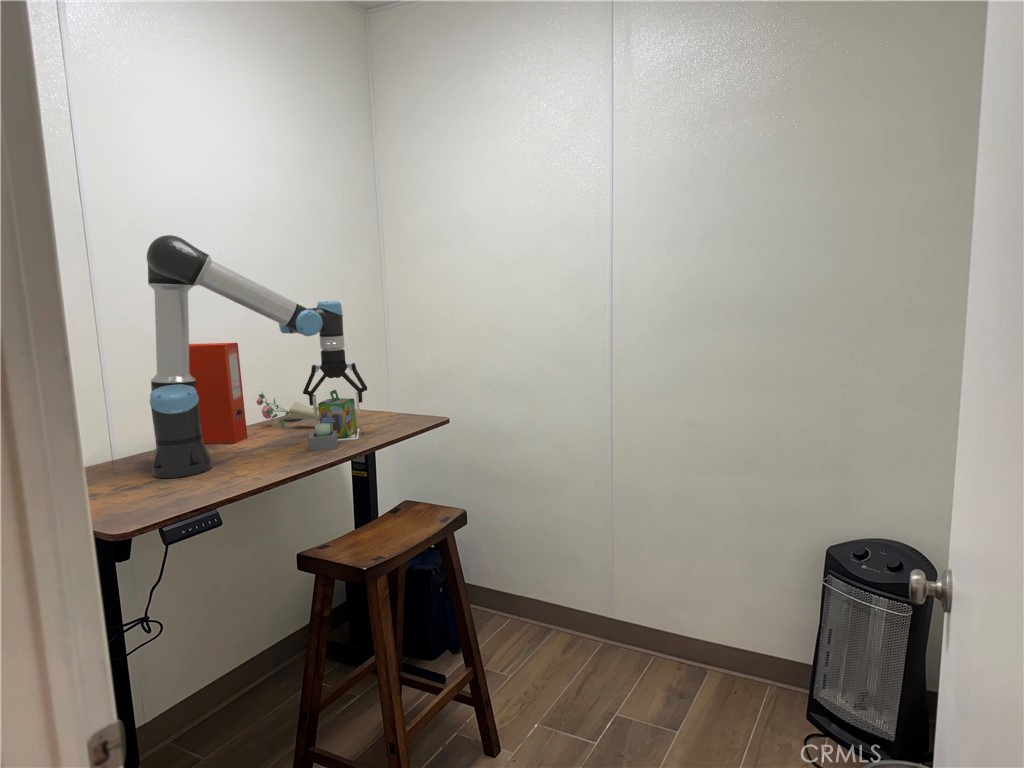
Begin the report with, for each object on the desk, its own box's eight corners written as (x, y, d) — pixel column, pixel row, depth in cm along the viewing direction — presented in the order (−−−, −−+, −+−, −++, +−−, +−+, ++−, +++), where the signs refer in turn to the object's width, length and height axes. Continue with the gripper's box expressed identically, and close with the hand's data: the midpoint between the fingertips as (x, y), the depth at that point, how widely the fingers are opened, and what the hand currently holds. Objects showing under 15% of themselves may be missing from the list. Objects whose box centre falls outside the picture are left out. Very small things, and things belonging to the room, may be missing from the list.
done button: (315, 439, 204) (314, 426, 203) (316, 436, 208) (315, 423, 208) (330, 438, 205) (329, 425, 204) (331, 435, 209) (330, 422, 208)
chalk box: (347, 438, 215) (343, 392, 213) (320, 438, 217) (316, 393, 214) (358, 431, 224) (354, 387, 222) (332, 431, 226) (328, 388, 223)
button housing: (309, 451, 202) (308, 438, 202) (312, 444, 210) (311, 432, 210) (336, 448, 204) (335, 435, 203) (338, 442, 212) (337, 430, 211)
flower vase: (334, 452, 230) (244, 428, 237) (351, 433, 240) (265, 411, 247) (333, 423, 224) (241, 399, 231) (351, 405, 235) (262, 383, 241)
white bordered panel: (319, 442, 213) (319, 441, 212) (323, 432, 226) (323, 431, 226) (357, 439, 215) (357, 438, 215) (359, 429, 228) (359, 428, 228)
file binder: (200, 437, 226) (189, 343, 221) (248, 437, 224) (237, 342, 218) (185, 443, 219) (173, 346, 213) (234, 443, 216) (223, 345, 210)
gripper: (290, 352, 210) (296, 418, 213) (371, 348, 214) (375, 413, 218) (293, 349, 217) (298, 414, 220) (372, 346, 222) (376, 409, 225)
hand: (337, 413), depth 219 cm, fingers open, 13 cm apart
